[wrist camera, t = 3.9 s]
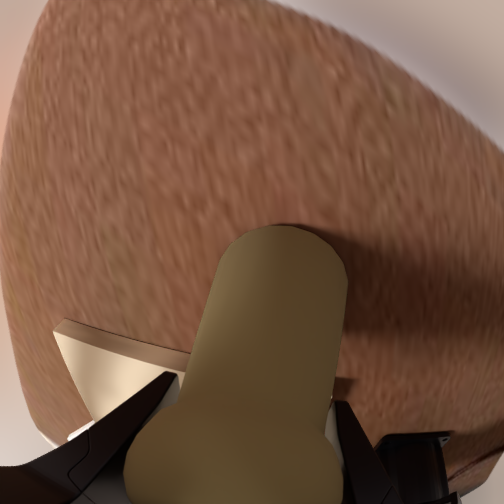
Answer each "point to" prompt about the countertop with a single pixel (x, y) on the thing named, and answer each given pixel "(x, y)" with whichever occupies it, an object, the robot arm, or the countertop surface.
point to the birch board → (112, 365)
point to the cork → (253, 384)
